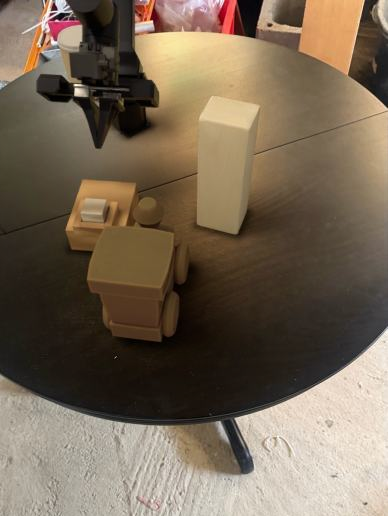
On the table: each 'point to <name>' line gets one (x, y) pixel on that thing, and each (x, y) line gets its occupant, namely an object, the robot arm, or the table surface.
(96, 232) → the box with white insert
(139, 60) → the robot arm
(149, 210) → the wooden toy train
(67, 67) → the coffee cup
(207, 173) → the tall cream block
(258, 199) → the table surface
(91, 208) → the white rounded block
